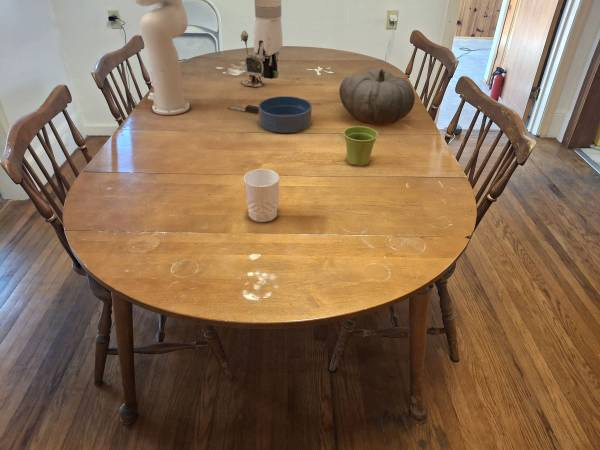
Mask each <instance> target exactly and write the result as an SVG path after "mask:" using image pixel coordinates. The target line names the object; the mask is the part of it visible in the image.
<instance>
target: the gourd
mask: <svg viewBox="0 0 600 450" xmlns="http://www.w3.org/2000/svg"><path fill="white" fill-rule="evenodd" d="M338 90H339V91H338V93H339V98H340V102H341V104H342V106H343V107H344V108H345V110H346V111H347V112H348V113H349V115H350V116H351V117H353V118H354V119H355V120H357V121H362V122H365V123H366V124H374V125H380V126H385V125H390V124H391V125H392V124H395V123H397V122H398V121H401V120H402V119H403V118H405V117H406V116H407V115H408V114H409V113H410V112H412V109H414V108H413V107H414V106H415V101H416V99H415V97H416V96H415V92H414V88H413V87H412V85H411V84H410V83H409V81H408V80H407V79H405V78H403V77H401V76H395V75H394V74H392V73H391V72H390V71H385V70H384V69H383V68H371V69H367V70H366V71H363V72H361V73H360V74H357V75H349V76H347V77H345V78H344V79H343V80H342V81H341V83H340V85H339V89H338Z"/></svg>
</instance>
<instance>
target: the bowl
mask: <svg viewBox="0 0 600 450" xmlns="http://www.w3.org/2000/svg"><path fill="white" fill-rule="evenodd" d="M257 107H258V111H259V113H258V124H259V126H260V127H261V128H263V129H264V130H267V131H270V132H273V133H274V132H275V133H283V134H285V133H286V134H287V133H289V134H290V133H296V132H301V131H303V130H306V129H308V128H309V127H310V126H311V125H312V120H313V105H312V103H311V102H310V101H308V100H307V99H304V98H302V97H297V96H290V95H289V96H288V95H282V96H281V95H280V96H272V97H268V98H266V99H262V100H261V101H260V102H259V103H258V105H257Z"/></svg>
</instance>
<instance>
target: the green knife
mask: <svg viewBox="0 0 600 450" xmlns="http://www.w3.org/2000/svg"><path fill="white" fill-rule="evenodd" d="M273 72H274V78H273V79H274V80H276V79H277V78H279V70H277V71H273ZM243 74H244V75H247V76H249V75H252V76H255V77H258V76H259V77H261V78H264V74H263V70H262V72H261V73H254V72H248V71H246V72H244V73H243ZM259 77H258V78H259Z"/></svg>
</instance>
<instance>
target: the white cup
mask: <svg viewBox="0 0 600 450" xmlns="http://www.w3.org/2000/svg"><path fill="white" fill-rule="evenodd" d="M243 182H244V183H243V184H244V191H245V199H246V200H245V201H246V205H247V212H248V217H249V218H250V219H251V220H252V221H255V222H258V223H266V222H271V221H273V220H275V218H276V217H277V216H278V205H279V194H280V174H278V173H277V172H276V171H274V170H272V169H268V168H258V169H252V170H250V171H247V172H246V173H245V174H244V176H243Z"/></svg>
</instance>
